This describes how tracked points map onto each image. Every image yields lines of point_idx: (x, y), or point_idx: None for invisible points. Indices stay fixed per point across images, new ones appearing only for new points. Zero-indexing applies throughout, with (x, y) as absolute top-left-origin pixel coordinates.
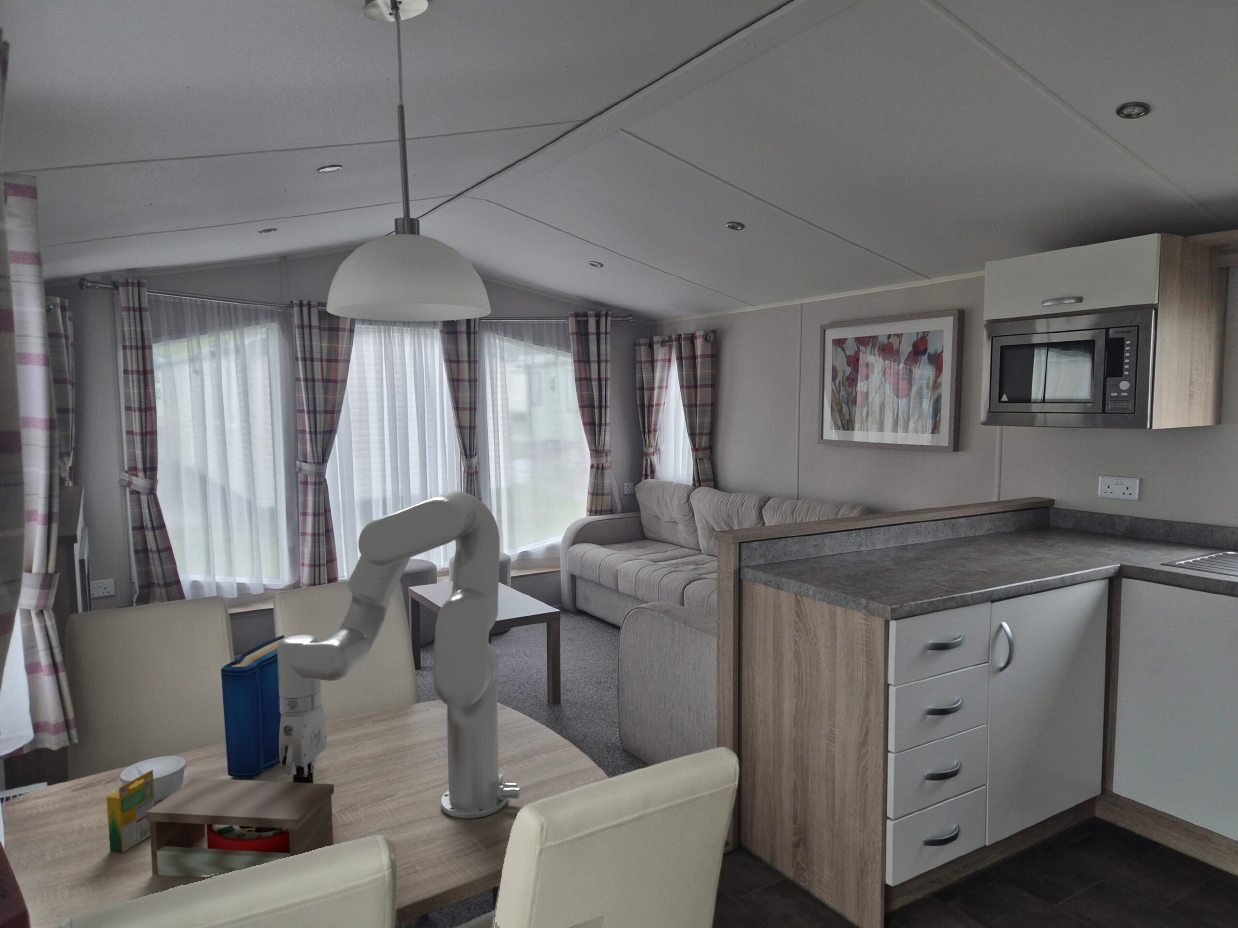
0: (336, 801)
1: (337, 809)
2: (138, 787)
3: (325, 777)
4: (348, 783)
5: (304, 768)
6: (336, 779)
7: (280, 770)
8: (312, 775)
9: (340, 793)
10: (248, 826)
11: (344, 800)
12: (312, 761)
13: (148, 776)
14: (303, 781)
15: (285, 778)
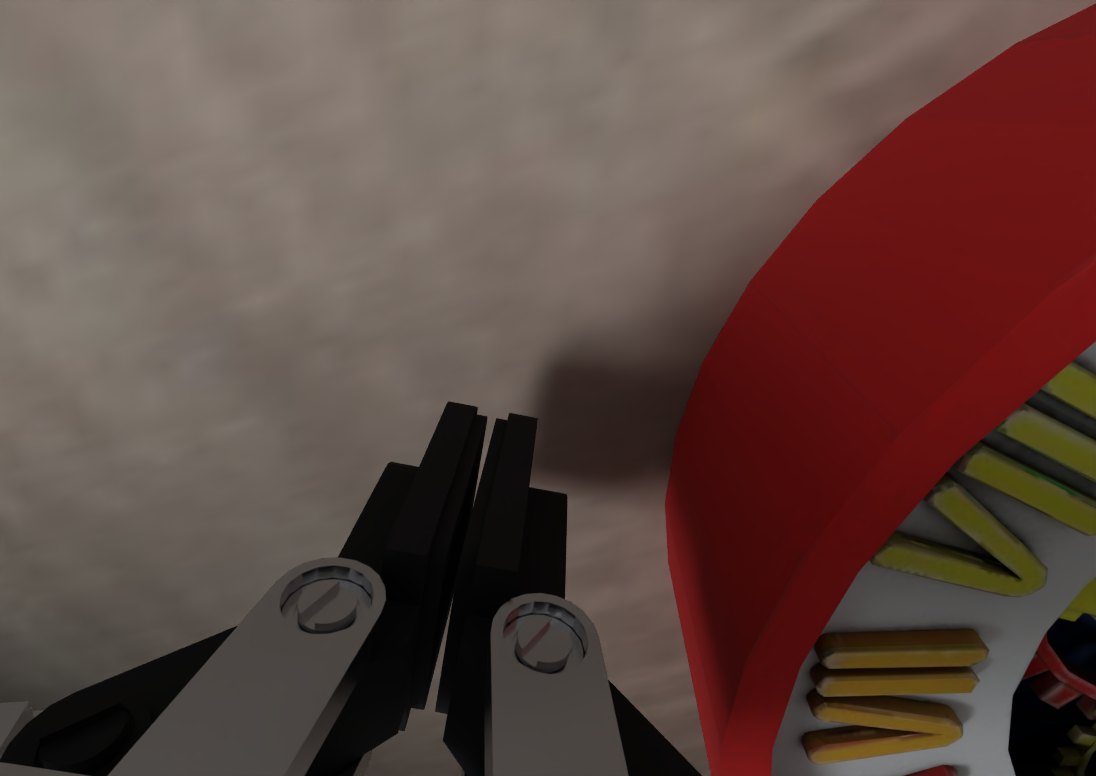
0: (508, 107)
1: (711, 35)
2: None
3: (11, 370)
4: (70, 79)
5: (619, 772)
6: (19, 251)
7: (8, 694)
8: (414, 518)
9: (318, 113)
10: (1091, 731)
11: (491, 5)
12: (268, 709)
13: None
14: (561, 579)
15: (113, 643)
